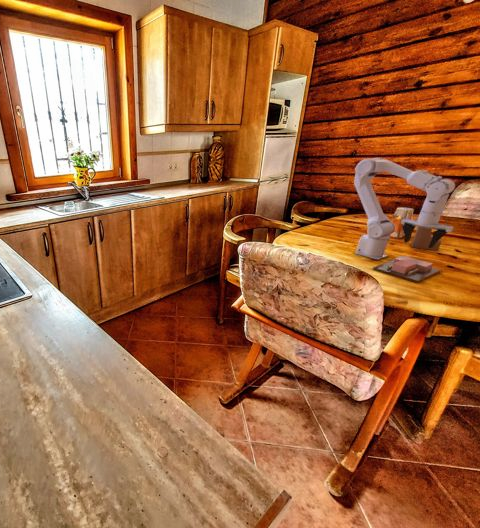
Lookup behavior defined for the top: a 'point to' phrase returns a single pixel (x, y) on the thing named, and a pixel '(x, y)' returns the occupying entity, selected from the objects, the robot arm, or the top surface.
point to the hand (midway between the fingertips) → (418, 244)
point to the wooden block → (424, 239)
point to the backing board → (416, 275)
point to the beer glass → (400, 221)
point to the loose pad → (403, 266)
